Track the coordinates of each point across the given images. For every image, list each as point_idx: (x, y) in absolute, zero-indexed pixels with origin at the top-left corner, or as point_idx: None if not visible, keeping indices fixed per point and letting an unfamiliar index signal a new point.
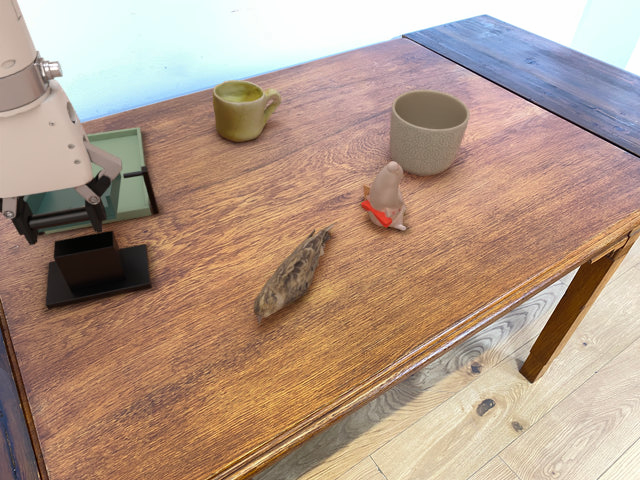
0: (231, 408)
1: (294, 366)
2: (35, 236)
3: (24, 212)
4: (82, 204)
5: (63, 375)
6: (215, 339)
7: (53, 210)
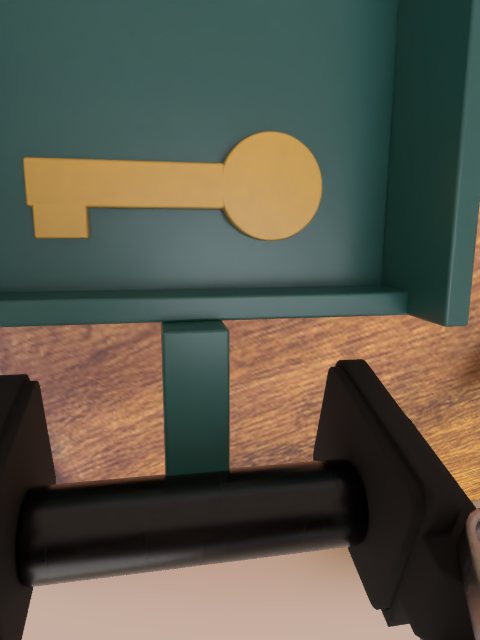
0: None
1: (473, 448)
2: (48, 482)
3: (3, 633)
4: (223, 52)
5: (93, 398)
6: (385, 382)
7: (49, 62)
